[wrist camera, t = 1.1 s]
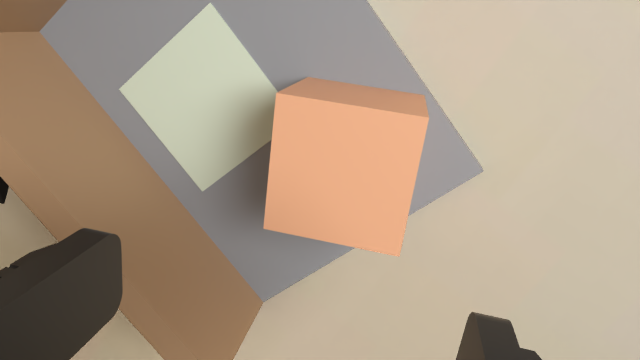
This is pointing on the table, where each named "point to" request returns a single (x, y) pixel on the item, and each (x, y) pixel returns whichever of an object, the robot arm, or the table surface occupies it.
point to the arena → (187, 143)
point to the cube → (344, 163)
